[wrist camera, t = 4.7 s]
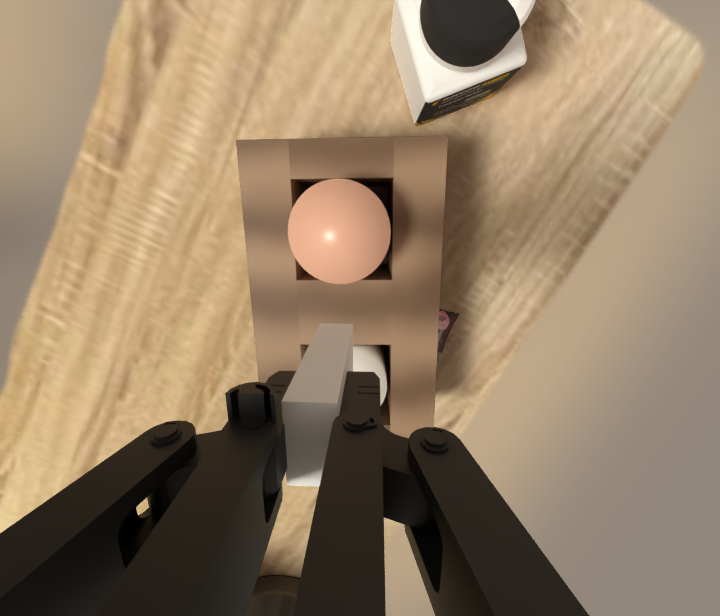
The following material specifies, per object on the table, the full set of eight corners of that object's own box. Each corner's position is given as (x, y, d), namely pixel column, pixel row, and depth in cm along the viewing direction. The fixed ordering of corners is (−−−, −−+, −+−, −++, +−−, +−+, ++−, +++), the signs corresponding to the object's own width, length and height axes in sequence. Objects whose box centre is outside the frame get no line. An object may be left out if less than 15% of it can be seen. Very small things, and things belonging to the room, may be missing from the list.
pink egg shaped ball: (385, 266, 30) (390, 283, 22) (311, 266, 30) (291, 284, 23) (386, 187, 28) (391, 177, 21) (308, 188, 29) (284, 179, 21)
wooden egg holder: (418, 397, 38) (432, 452, 29) (289, 396, 38) (265, 450, 29) (427, 157, 31) (447, 135, 23) (273, 160, 32) (235, 139, 23)
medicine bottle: (414, 127, 31) (439, 75, 19) (388, 39, 29) (399, -76, 18) (494, 96, 30) (570, 22, 18) (472, 3, 28) (541, -142, 17)
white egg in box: (383, 377, 36) (386, 422, 28) (321, 377, 36) (308, 421, 29) (384, 318, 34) (387, 348, 27) (319, 318, 35) (304, 348, 27)
